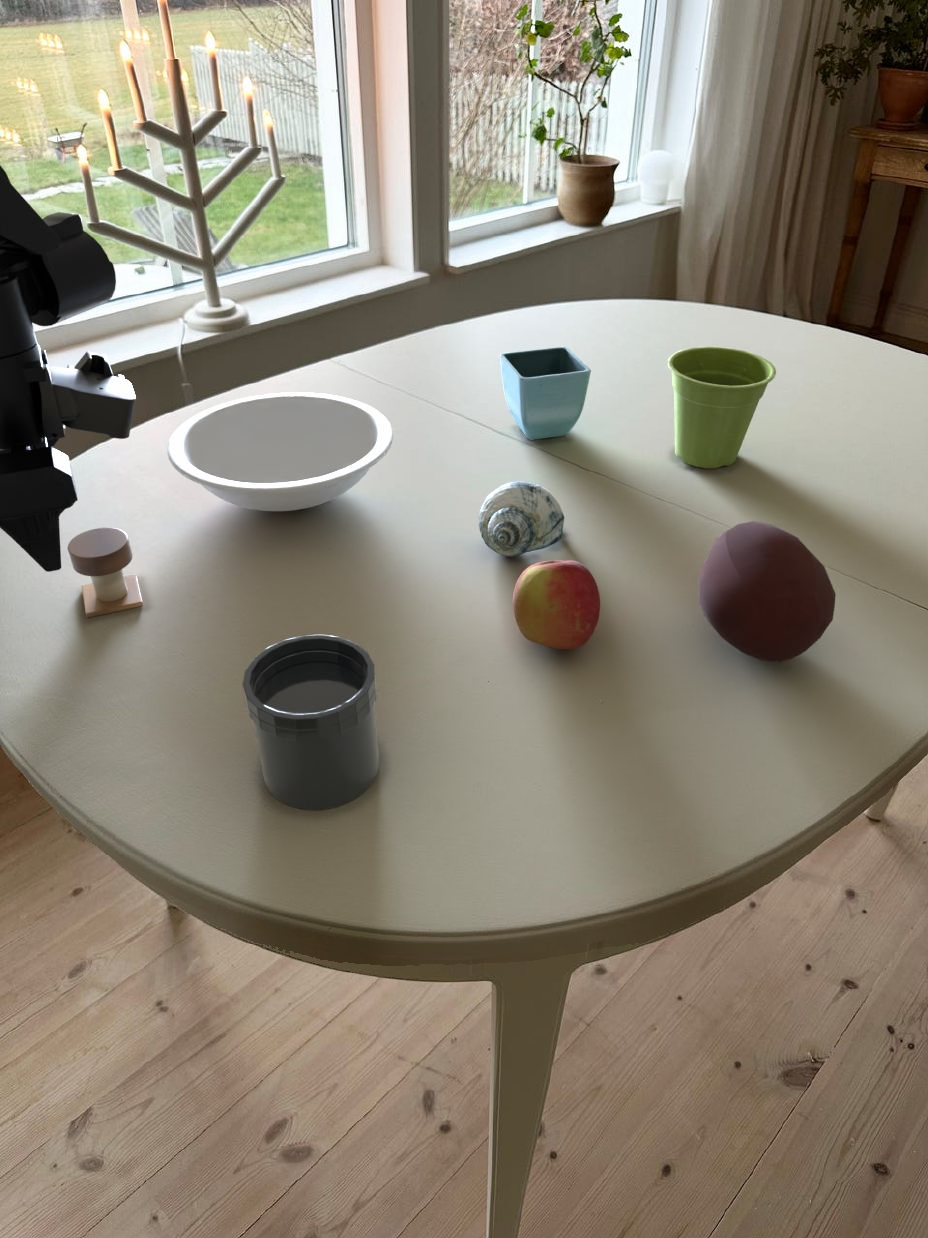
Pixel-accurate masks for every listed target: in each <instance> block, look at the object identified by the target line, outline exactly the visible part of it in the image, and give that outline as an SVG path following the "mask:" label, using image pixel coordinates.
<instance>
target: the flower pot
mask: <svg viewBox="0 0 928 1238" xmlns="http://www.w3.org/2000/svg"><path fill="white" fill-rule="evenodd" d="M499 359H500V368H501V378H502V379H501V380H502V387H503V389H502V390H503V393H504V398H505V401H506V405H507V407H508V410H509V412H510V414H511V416H512V418H513V420H514V422H515V424H516V425H517V427H518V428H519V429H520V431H521V432H522V433H523V434H524V436H525V437H526V439H528V440H540V439H548V438H555V437H563V436H566V435H568V434H569V433H570V432H571V431H572V430H573V428H574V427H575V425H576V424H577V422H578V420H579V419H580V417H581V414H582V413H583V410H584V406H585V402H586V398H587V393H588V388H589V382H590V376H591V372H592V370H591V368H589V366H588V365H586V364H585V363H584V362H583V361H582V360H581V359H580V358H579V357H578V356H577V355H575V353H573V352H572V351H571V349H570V348H568V347H566V346H557V347H546V348H538V349H537V348H536V349H529V350H519V351H511V352H509V351H508V352H503V353H500V354H499Z"/></svg>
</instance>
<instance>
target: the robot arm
mask: <svg viewBox="0 0 928 1238" xmlns="http://www.w3.org/2000/svg"><path fill="white" fill-rule="evenodd" d="M116 284H117V276H116V270H115V266H114V263H113V262H112V261H110V258H109V256H108V254H107V253H106V251H105V249H104V248H103V246H102V245H101V244H100V243H99V242H98V241H97V240H96V238H94V237H93V236H92V235H91V234H89V233H88V232H87V231H85V228H84V224H83V220H82V216H81V215H80V214H77V213H71V212H70V213H69V212H61V211H58V212H54V213H50V214H48V215H46V216H44V217H43V218H42V216H41V215H40V214H38V212H37V211H36V210H35V209H34V207H32V206H31V204H29V202H28V201H27V200H26V199H25V197H24V196H23V195H22V194H21V193H20V192H19V191H18V190H17V188H15V186H14V185H13V184H12V182H11V180H10V178H9V177H8V174H7V172H6V171H5V169H4V167H3V166H1V164H0V530H2V531H4V533H5V534H6V535H7V536H9V537H10V538H11V539H12V540H13V541H14V542H15V543H16V544H17V545H18V546H19V547H20V548H21V549H23V551H24V552H25V553H27V555H28V556H30V558H31V559H33V561H34V562H35V563H37V564H38V565H39V567H40V568H42V569H43V571H45V572H46V573H51V572H57V571H59V570H61V569H62V554H61V552H62V550H61V535H60V534H61V531H60V516H61V514H62V513H63V512H64V511H65V510H67V509H70V508H72V507H73V506H74V504H75V503H77V502H78V501H79V499H78V494H77V487H76V482H75V478H74V474H73V469H72V465H71V461H70V458H69V456H68V455H67V454H65V453H64V452H61V451H60V450H58V449H57V448H55V445H56V444H57V442H58V441H59V440H60V439H62V438H66V432H65V430H66V428H69V429H73V430H77V431H83V432H90V433H97V434H102V435H108V436H109V438H111V439H118V440H125V439H128V438H130V433H131V428H132V423H133V417H134V412H135V405H136V399H137V397H136V394H135V391H134V388H133V385H132V383H131V382H130V381H129V380H128V379H125V376H124V374H123V375H122V374H117V376H114V373H113V370H112V368H111V365H110V362H109V360H108V356H107V355H106V354H104V353H103V354H102V353H97V352H94V351H86V352H85V353H84V354H83V356H82V357H81V358H80V359H79V361H78V362H77V363H76V364H75V365H71V364H67V365H66V366H67V367H66V368H65V367H58V366H52V365H51V366H50V363H49V359H48V355H47V352H46V350H45V349H41V346H40V344H39V343H38V340H37V336H36V333H35V329H34V325H36V326H39V327H50V326H51V327H52V326H54V325H56V324H58V323H61V322H64V321H66V320H68V319H71V318H74V317H75V316H78V315H80V314H83V313H85V312H86V313H87V312H88V311H91V310H94V309H95V308H97V307H101V306H102V305H104V304H106V303H108V302H109V301H110V300H111V299H112V298H113V296H114V294H115V291H116V287H117V285H116ZM33 324H34V325H33Z"/></svg>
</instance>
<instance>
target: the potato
mask: <svg viewBox="0 0 928 1238" xmlns="http://www.w3.org/2000/svg"><path fill="white" fill-rule="evenodd" d="M836 596H837V595H836V592H835V589H834V586H833V584H832V582H831V579H830V577H829V574H828V572H827V570H826V567H825V565H823V563H822V562H821V561H820V560H819V559H818V558H817V557H816V556H815V555H814V554H813V553H812V552H811V550H810V549H809V548H808V547H807V546H806V544H804V543H803V542H802V541H801V539H799V538H798V537H797V536H795V535H794V534H792V533H790V532H788V531H787V530H784V529H783V528H780V527H778V526H775V525H773V524H771V523H766V522H760V521H754V520H753V521H748V522H741V523H738V524H736V525H734V526H732V527H730V528H729V529H728V530H727V529H726V531H724V532H723V533H722V534H720V535H719V536H717V537H716V538H715V539H714V541H713V544H712V546H711V548H710V550H709V552H708V554H707V556H706V558H705V560H704V563H703V564H702V566H701V568H700V571H699V572H698V599H699V600H698V601H699V602H698V603H699V606H700V609H701V611H702V614H703V616H704V618H705V619H706V620H707V622H708V623H709V624H710V625H711V626H712V628H713V629H714V630H715V632H716V633H717V634H718V635H719V636H720V637H721V638H722V639H723V640H725V641H726V642H727V643H729V644H730V645H731V646H732V647H734V648H735V649H737V650H738V651H740V652H741V653H743V654H745V655H747V656H749V657H752V658H754V659H756V660H759V661H763V662H771V663H780V662H786V661H789V660H792V659H795V658H796V657H798V656H800V655H802V654H804V653H805V652H806V651H808V649H810V648H811V647H812V646H813V645H814V644H815V643H817V642H818V641H819V640H820V639H821V638H822V636H823V635H824V633H825V632H826V630H828V629H827V628H828V627H829V626H830V624H831V623H832V622H833V620H834V615H835V607H836Z"/></svg>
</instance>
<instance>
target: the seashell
mask: <svg viewBox="0 0 928 1238" xmlns="http://www.w3.org/2000/svg"><path fill="white" fill-rule="evenodd" d="M564 523H565V515H564V513H563V510H562V507H561V505H560V503H559V501H558V500H557V499H556V497H555V496H554V495H553V493H552V492H551V491H549V490H548V489H547V488H545V487H543V486H542V485H539V484H537V483H535V482H530V481H524V480H519V481H511V482H508V483H505V484H503V485H500V486H499V487H497V488H496V489H494V490H493V491H492V492H491V493H489V494H488V495H487V496H486V497H485V500H484V501H483V504H482V505H481V507H480V510H479V513H478V527H479V528H478V529H479V532H480V535H481V538H482V540H483V542H484V544H485V545H486V546H487V547H488V548H489V549H490V550H491V551H493V552H495V553H496V554H498V555H500V556H503V557H519V556H520V555H524V554H526V553H530V552H533V551H537V550H542V549H546V548H548V547H551V546H553V545H555V544H557V543H558V542H560V541H561V540H562V539H563V533H564V525H565V524H564Z"/></svg>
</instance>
